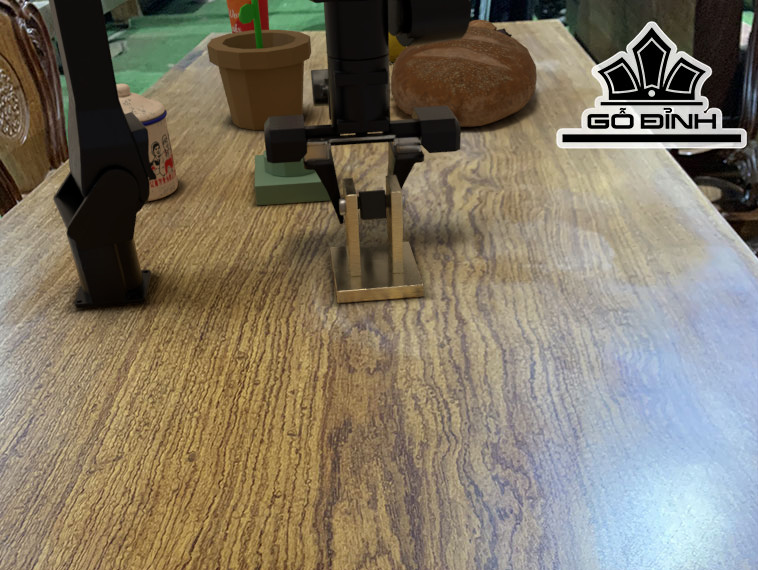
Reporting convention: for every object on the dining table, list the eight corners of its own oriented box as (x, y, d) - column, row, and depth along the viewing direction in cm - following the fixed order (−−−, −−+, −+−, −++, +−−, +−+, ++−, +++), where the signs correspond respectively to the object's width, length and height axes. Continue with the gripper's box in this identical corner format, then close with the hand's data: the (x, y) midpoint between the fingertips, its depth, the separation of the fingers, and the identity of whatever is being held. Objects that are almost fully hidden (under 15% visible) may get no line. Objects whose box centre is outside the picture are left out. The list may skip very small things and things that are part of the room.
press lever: (342, 216, 86) (341, 191, 85) (386, 213, 86) (384, 188, 85) (349, 221, 75) (347, 192, 74) (399, 217, 75) (397, 189, 74)
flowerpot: (296, 137, 114) (271, -139, 95) (202, 131, 117) (158, -137, 98) (329, 108, 124) (313, -146, 105) (242, 103, 128) (210, -144, 108)
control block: (334, 200, 96) (332, 164, 93) (256, 205, 95) (252, 170, 93) (328, 168, 104) (326, 135, 101) (257, 173, 103) (253, 139, 101)
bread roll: (475, 51, 150) (476, 28, 147) (444, 43, 155) (445, 21, 152) (517, 41, 154) (518, 19, 152) (486, 34, 159) (487, 12, 157)
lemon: (372, 65, 144) (370, 12, 138) (381, 57, 148) (380, 6, 142) (403, 66, 142) (402, 13, 137) (411, 59, 146) (411, 6, 141)
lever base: (330, 258, 84) (324, 169, 78) (409, 252, 84) (408, 163, 78) (337, 303, 76) (330, 208, 70) (423, 296, 77) (423, 201, 71)
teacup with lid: (167, 205, 96) (145, 96, 88) (92, 204, 97) (64, 96, 89) (196, 169, 105) (178, 68, 98) (127, 169, 106) (105, 68, 98)
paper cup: (227, 67, 146) (214, -27, 137) (268, 61, 148) (259, -32, 139) (240, 76, 140) (228, -21, 131) (283, 70, 143) (274, -25, 133)
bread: (380, 132, 114) (378, 65, 109) (400, 66, 142) (400, 10, 137) (540, 132, 113) (546, 64, 107) (529, 65, 140) (534, 8, 135)
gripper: (443, 29, 83) (440, 187, 93) (256, 39, 81) (274, 198, 92) (464, 55, 74) (458, 226, 84) (255, 67, 73) (275, 239, 83)
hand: (365, 220), depth 86 cm, fingers closed on press lever, 4 cm apart
